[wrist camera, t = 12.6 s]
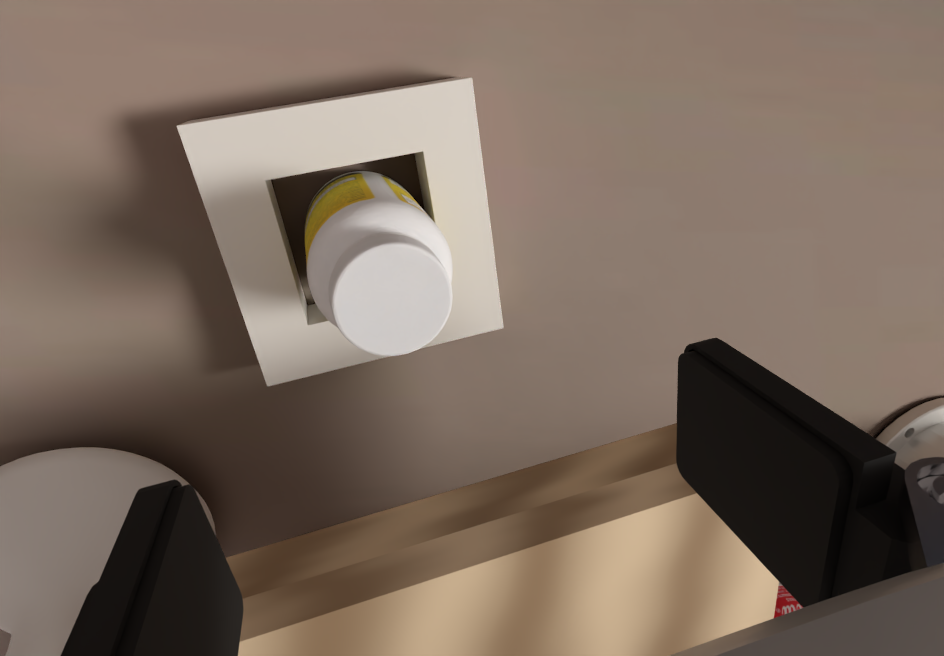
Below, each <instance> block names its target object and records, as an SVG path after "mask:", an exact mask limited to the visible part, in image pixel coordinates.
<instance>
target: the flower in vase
mask: <svg viewBox="0 0 944 656" xmlns="http://www.w3.org/2000/svg"><path fill="white" fill-rule="evenodd" d="M174 479H175V480H178V481H179V482H180V483H181V485H182V486H184V485H188V484H189V483H188V482H187V481H186V480H184V479H183V478H182V477H181V476H179V475H178V474H177V473H175V472H174V471H173V470H171V469H169V468H167V467H166V466H164V465H162V464H161V463H158V462H156V461H154V460H151V459H149V458H147V457H144V456H140V455H137V454H134V453H131V452H126V451H121V450H116V449H108V448H99V447H77V448H66V449H57V450H51V451H46V452H40V453H36V454H32V455H29V456H26V457H22V458H19V459H17V460H14V461H12V462H9V463H7V464H4V465H2V466H0V629H1V630H3V631H5V632H7V633H10V634H11V639H10V643H9V647H8V651H7V653H6V655H5V656H61V654H62V651H63V649H64V647H65V644H66V642H67V640H68V638H69V635H70V633H71V631H72V628H73V626H74V624H75V621H76V619H77V617H78V615H79V612H80V610H81V608H82V605H83V603H84V601H85V599H86V596H87V594H88V593H89V591H90V589H91V588H92V586H93V585H94V584H96V583H97V582H98V581H99V579H100V577H101V574H102V572H103V570H104V567H105V565H106V563H107V560H108V558H109V556H110V553H111V551H112V549H113V546H114V544H115V542H116V539H117V537H118V535H119V532H120V530H121V528H122V525H123V523H124V520H125V518H126V516H127V513H128V511H129V509H130V506H131V504H132V502H133V499H134V497H135V495H136V493H137V491H138V490H139V489H141V488H144V487H147V486H151V485H155V484H159V483H163V482H166V481H170V480H174ZM189 485H190V484H189ZM194 490H195V489H194ZM195 491H196V490H195ZM196 494H197V496H198V498H199V500H200V503H201V505H202V507H203V509H204V511H205V514H206V516H207V518H208V520H209V522H210V525H211V527H212V529H213V531H214V534H215V536H216V532H215V524H214V521H213V518H212V515H211V512H210V510H209V508H208V507H207V505H206V503H205V501H204V500H203V499H202V497H201V496H200V495H199V493H198V492H197V491H196Z"/></svg>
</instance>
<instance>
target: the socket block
mask: <svg viewBox="0 0 944 656" xmlns="http://www.w3.org/2000/svg"><path fill="white" fill-rule="evenodd" d="M177 129H178V132H179V134H180V137H181V140H182V143H183V146H184V149H185V152H186V154H187V157H188V160H189V163H190V166H191V169H192V172H193V175H194V177H195V180H196V183H197V186H198V189H199V192H200V195H201V198H202V200H203V203H204V206H205V209H206V212H207V215H208V218H209V221H210V223H211V226H212V229H213V232H214V235H215V238H216V241H217V243H218V246H219V249H220V252H221V255H222V258H223V261H224V264H225V266H226V269H227V272H228V275H229V278H230V281H231V284H232V287H233V289H234V292H235V295H236V298H237V301H238V304H239V307H240V309H241V312H242V315H243V318H244V321H245V324H246V327H247V330H248V332H249V335H250V338H251V341H252V344H253V347H254V350H255V353H256V355H257V358H258V361H259V364H260V367H261V370H262V373H263V376H264V378H265V381H266V384H267V387H268V386H272V385H276V384H280V383H284V382H288V381H292V380H296V379H300V378H304V377H308V376H312V375H316V374H320V373H324V372H328V371H332V370H337V369H341V368H345V367H349V366H353V365H357V364H361V363H365V362H369V361H373V360H377V359H381V358H385V357H389V356H381V355H375V354H372V353H368V352H366V351H363V350H361V349H359V348H358V347H356V346H355V345H353V344H352V343H351V342H349V341H348V340H347V339H346V338H345V337H344V336H343V334H342V333H341V332H340V330H339V328H337V327H336V326H335V325H333V324H332V323H331V322H330V321H329V320H327V318H326V317H325V316H324V315H323V314H322V313H321V311H320V310H319V308H318V307H317V305H316V304H312V305H308V306H307V303H306V299H305V296H304V292H303V289H302V285H301V282H300V279H299V275H298V272H297V268H296V265H295V261H294V258H293V254H292V251H291V248H290V244H289V241H288V237H287V234H286V230H285V227H284V223H283V220H282V217H281V213H280V210H279V206H278V203H277V199H276V196H275V192H274V189H273V186H272V182H271V179H276V178H282V177H287V176H292V175H298V174H303V173H309V172H314V171H320V170H325V169H330V168H336V167H341V166H347V165H352V164H357V163H363V162H368V161H374V160H379V159H384V158H390V157H395V156H401V155H406V154H412V153H415V159H416V165H417V170H418V176H419V182H420V188H421V193H422V199H423V205H424V210H425V212H426V213H427V214H428V216H429V217H430V218H431V219H432V220H433V221H434V222H435V224H436V225H437V226H438V228H439V229H440V230H441V232H442V233H443V235H444V237H445V239H446V241H447V243H448V246H449V249H450V252H451V257H452V264H453V272H452V282H451V286H452V306H451V311H450V314H449V317H448V319H447V321H446V323H445V325H444V327H443V328H442V330H441V331H440V332H439V334H438V335H437V336H436V337H435V338H434V339H433V340H432V341H430V342H429V343H428V344H426V345H425V346H423V347H421V348H425V347H429V346H433V345H437V344H441V343H445V342H449V341H453V340H457V339H461V338H465V337H469V336H473V335H477V334H481V333H485V332H489V331H493V330H497V329H501V328H503V320H502V312H501V304H500V296H499V288H498V280H497V272H496V264H495V256H494V248H493V240H492V232H491V224H490V217H489V209H488V201H487V193H486V185H485V177H484V169H483V161H482V153H481V145H480V137H479V129H478V121H477V113H476V105H475V97H474V89H473V81H472V78H468V77H456V78H449V79H443V80H437V81H431V82H425V83H419V84H412V85H406V86H400V87H394V88H388V89H382V90H375V91H369V92H363V93H357V94H351V95H345V96H338V97H332V98H326V99H320V100H314V101H308V102H302V103H295V104H289V105H283V106H277V107H271V108H265V109H258V110H252V111H246V112H240V113H234V114H228V115H221V116H215V117H209V118H203V119H197V120H191V121H187V122H184V123H182V124H180V125H177ZM421 348H420V349H421Z"/></svg>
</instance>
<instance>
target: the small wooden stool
mask: <svg viewBox="0 0 944 656" xmlns="http://www.w3.org/2000/svg"><path fill="white" fill-rule="evenodd" d="M676 445H677V423H676V424H673V425H669V426H666V427H662V428H659V429H656V430H652V431H649V432H646V433H642V434H639V435H636V436H632V437H629V438H626V439H622V440H619V441H615V442H612V443H609V444H605V445H602V446H599V447H595V448H592V449H589V450H585V451H582V452H579V453H575V454H572V455H569V456H565V457H562V458H558V459H555V460H552V461H548V462H545V463H542V464H538V465H535V466H532V467H528V468H525V469H522V470H518V471H515V472H512V473H508V474H505V475H501V476H498V477H495V478H491V479H488V480H485V481H481V482H478V483H475V484H471V485H468V486H465V487H461V488H458V489H454V490H451V491H448V492H444V493H441V494H438V495H434V496H431V497H428V498H424V499H421V500H418V501H414V502H411V503H408V504H404V505H401V506H397V507H394V508H391V509H387V510H384V511H381V512H377V513H374V514H371V515H367V516H364V517H361V518H357V519H354V520H351V521H347V522H344V523H340V524H337V525H334V526H330V527H327V528H324V529H320V530H317V531H314V532H310V533H307V534H304V535H300V536H297V537H293V538H290V539H287V540H283V541H280V542H277V543H273V544H270V545H267V546H263V547H260V548H257V549H253V550H250V551H247V552H243V553H240V554H236V555H233V556H230V557H226V560H227V562H228V564H229V567H230V569H231V571H232V573H233V576H234V578H235V580H236V582H237V584H238V587H239V589H240V591H241V594H242V599H243V609H244V610H243V620H242V628H241V635H240V643H239V651H238V656H669V655H672V654H675V653H678V652H680V651H683V650H686V649H689V648H692V647H694V646H697V645H700V644H703V643H706V642H708V641H711V640H714V639H717V638H720V637H723V636H725V635H728V634H731V633H734V632H737V631H739V630H742V629H745V628H748V627H751V626H753V625H756V624H759V623H762V622H765V621H768V620H770V619H773V618H774V613H775V606H776V599H777V593H778V586H779V581H778V580H777V579H776V578H775V577H774V576H773V575H772V574H771V572H770V571H769V570H768V569H767V568H766V567H765V566H764V565H763V564H762V563H761V562H760V561H759V560H758V558H757V557H756V556H755V555H754V554H753V553H752V552H751V551H750V550H749V549H748V548H747V547H746V546H745V544H744V543H743V542H742V541H741V540H740V539H739V538H738V537H737V536H736V535H735V534H734V533H733V531H732V530H731V529H730V528H729V527H728V526H727V525H726V524H725V523H724V522H723V521H722V520H721V519H720V517H719V516H718V515H717V514H716V513H715V512H714V511H713V510H712V509H711V508H710V507H709V506H708V505H707V503H706V502H705V501H704V500H703V499H702V498H701V497H700V496H699V495H698V494H697V493H696V492H695V491H694V489H693V488H692V487H691V486H690V485H689V484H688V483H687V482H686V481H685V480H684V478H683V477H682V476H681V474H680V472H679V470H678V467H677V463H676Z"/></svg>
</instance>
